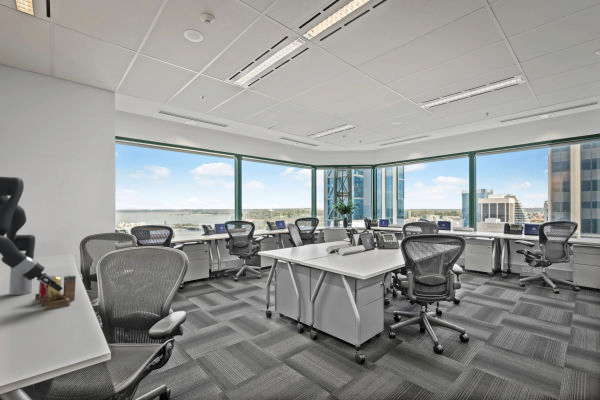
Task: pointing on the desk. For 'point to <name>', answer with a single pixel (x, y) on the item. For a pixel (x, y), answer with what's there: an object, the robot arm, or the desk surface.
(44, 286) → the soda can
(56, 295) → the billet
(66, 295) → the wooden slotted rack
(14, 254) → the robot arm
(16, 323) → the desk surface
